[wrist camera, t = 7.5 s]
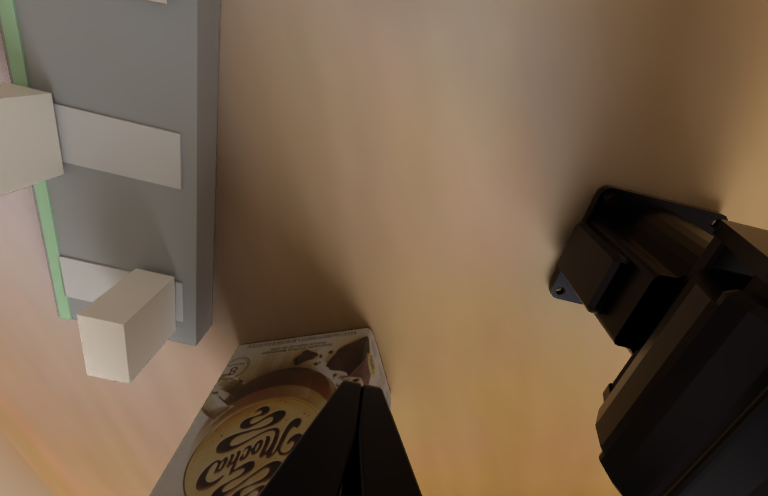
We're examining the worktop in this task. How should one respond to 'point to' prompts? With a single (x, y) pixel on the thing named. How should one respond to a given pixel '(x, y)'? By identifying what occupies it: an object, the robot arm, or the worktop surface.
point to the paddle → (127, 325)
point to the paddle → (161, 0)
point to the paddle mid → (27, 138)
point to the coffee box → (266, 410)
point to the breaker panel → (125, 143)
